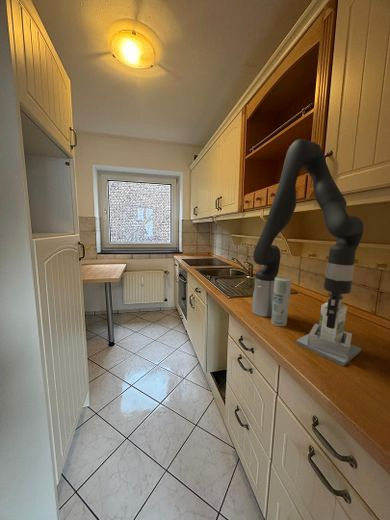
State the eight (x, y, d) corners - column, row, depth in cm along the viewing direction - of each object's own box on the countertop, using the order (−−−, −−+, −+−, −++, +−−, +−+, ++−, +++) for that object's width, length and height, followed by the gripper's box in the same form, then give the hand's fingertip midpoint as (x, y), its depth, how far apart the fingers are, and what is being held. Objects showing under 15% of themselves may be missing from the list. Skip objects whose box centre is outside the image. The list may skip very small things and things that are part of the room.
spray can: (289, 324, 90) (294, 279, 87) (280, 327, 87) (285, 281, 84) (276, 318, 96) (280, 276, 92) (267, 321, 92) (271, 277, 89)
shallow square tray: (307, 345, 72) (308, 334, 71) (313, 333, 81) (315, 323, 80) (347, 359, 65) (349, 347, 64) (350, 344, 73) (352, 333, 73)
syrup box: (323, 338, 77) (328, 300, 75) (342, 345, 72) (347, 305, 70) (316, 342, 74) (320, 303, 72) (334, 350, 69) (340, 309, 67)
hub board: (295, 343, 75) (296, 340, 75) (315, 332, 83) (315, 330, 83) (343, 366, 63) (344, 362, 63) (360, 351, 71) (361, 348, 71)
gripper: (328, 272, 77) (322, 314, 79) (321, 278, 66) (315, 327, 68) (353, 275, 72) (346, 320, 75) (351, 283, 61) (343, 335, 64)
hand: (331, 323), depth 72 cm, fingers open, 7 cm apart
